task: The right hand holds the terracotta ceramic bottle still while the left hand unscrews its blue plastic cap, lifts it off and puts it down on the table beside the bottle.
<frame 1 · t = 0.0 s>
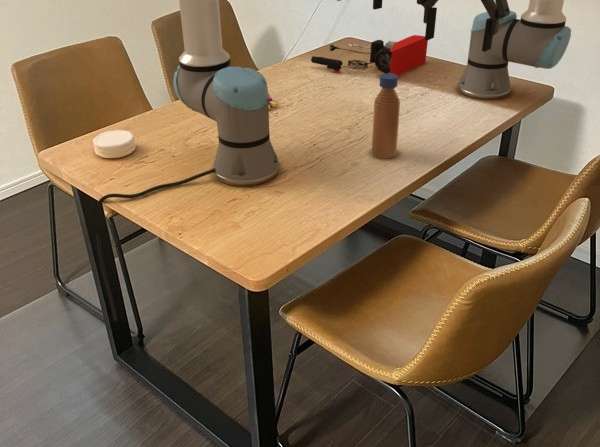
left hand: (358, 4, 166), 28 cm above the table, tool pointing down, fingers open, 13 cm apart
right hand: (457, 44, 134), 28 cm above the table, tool pointing down, fingers open, 13 cm apart
cap: (388, 77, 143), point 19 cm above the table, screwed on, not yet turned
coaster: (115, 151, 156), on the table
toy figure: (258, 103, 182), on the table
bottle: (383, 153, 153), on the table
electric hoist: (368, 65, 210), on the table
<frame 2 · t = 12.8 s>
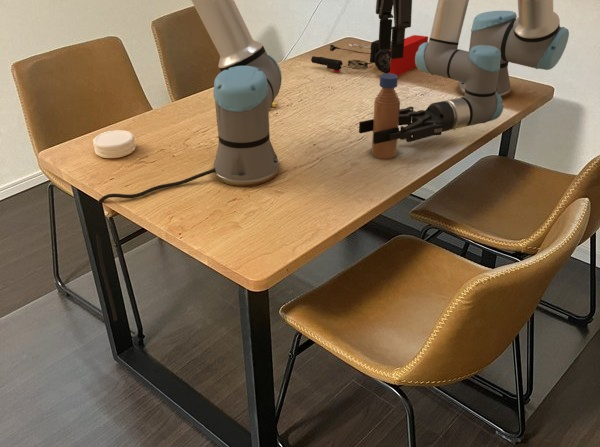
left hand: (390, 53, 140), 25 cm above the table, tool pointing down, fingers open, 6 cm apart
right hand: (367, 132, 148), 7 cm above the table, tool horizontal, fingers closed on bottle, 6 cm apart
bottle: (383, 153, 153), on the table, touching right hand
everything else where it was.
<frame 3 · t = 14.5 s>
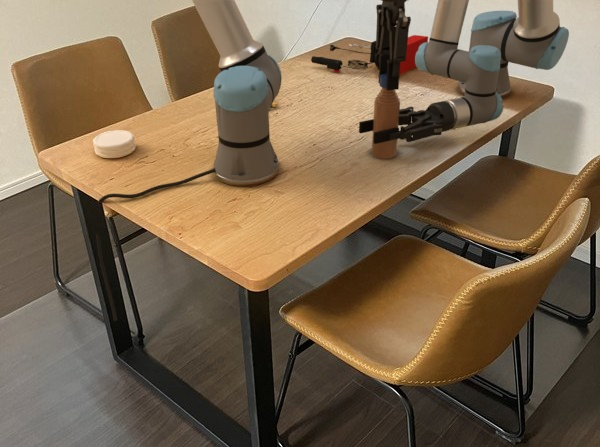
left hand: (388, 85, 144), 17 cm above the table, tool pointing down, fingers closed on cap, 4 cm apart
right hand: (367, 132, 148), 7 cm above the table, tool horizontal, fingers closed on bottle, 6 cm apart
cap: (388, 77, 143), point 19 cm above the table, screwed on, not yet turned, touching left hand
bottle: (383, 153, 153), on the table, touching right hand
everything else where it was.
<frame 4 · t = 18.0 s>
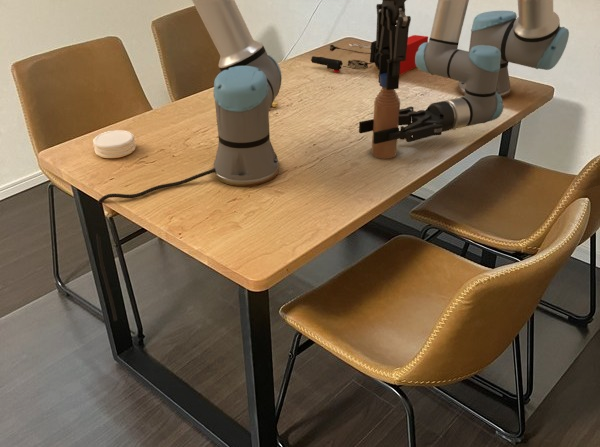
left hand: (388, 85, 144), 17 cm above the table, tool pointing down, fingers closed on cap, 4 cm apart
right hand: (367, 132, 148), 7 cm above the table, tool horizontal, fingers closed on bottle, 6 cm apart
cap: (388, 76, 143), point 19 cm above the table, turned 114° so far, risen 0.1 cm, still on its thread, touching left hand
bottle: (383, 153, 153), on the table, touching right hand
everything else where it was.
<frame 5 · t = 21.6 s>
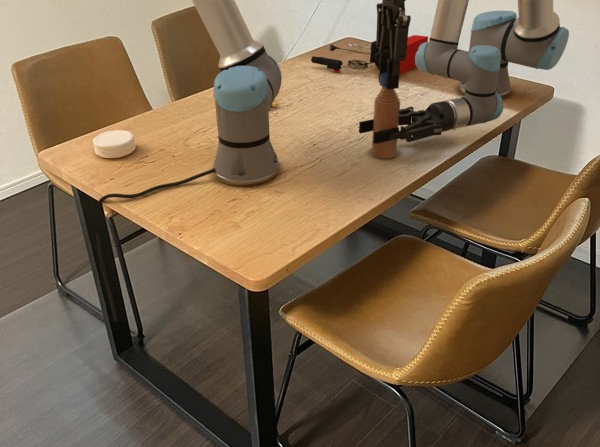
left hand: (388, 84, 144), 18 cm above the table, tool pointing down, fingers closed on cap, 4 cm apart
right hand: (367, 132, 148), 7 cm above the table, tool horizontal, fingers closed on bottle, 6 cm apart
cap: (388, 76, 142), point 20 cm above the table, turned 227° so far, risen 0.2 cm, still on its thread, touching left hand
bottle: (383, 153, 153), on the table, touching right hand
everything else where it was.
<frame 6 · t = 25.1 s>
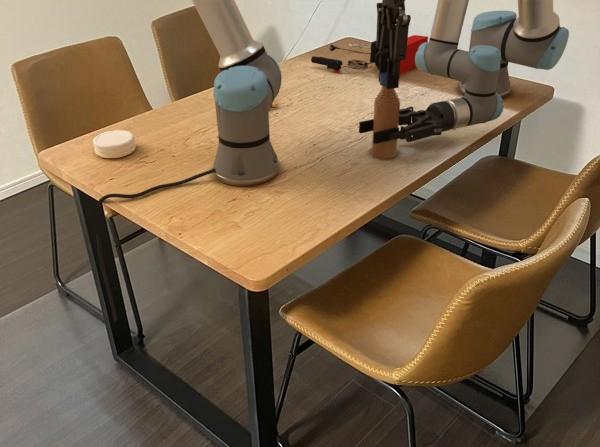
left hand: (388, 84, 143), 18 cm above the table, tool pointing down, fingers closed on cap, 4 cm apart
right hand: (367, 132, 148), 7 cm above the table, tool horizontal, fingers closed on bottle, 6 cm apart
cap: (388, 75, 142), point 20 cm above the table, turned 341° so far, risen 0.4 cm, still on its thread, touching left hand
bottle: (383, 153, 153), on the table, touching right hand
everything else where it was.
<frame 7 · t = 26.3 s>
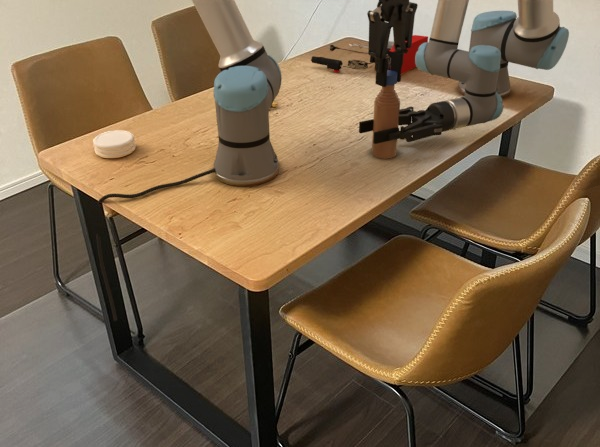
left hand: (387, 82, 143), 18 cm above the table, tool pointing down, fingers closed on cap, 4 cm apart
right hand: (367, 132, 148), 7 cm above the table, tool horizontal, fingers closed on bottle, 6 cm apart
cap: (388, 74, 142), point 20 cm above the table, off its thread, touching left hand
bottle: (383, 153, 153), on the table, touching right hand
everything else where it was.
when the left hand's fingers open (1 cm above the table, at t = 32.9 s): cap drops 1 cm, point 2 cm above the table.
when the right hand's fingers open (7 cm above the table, at t = 34.1 s): bottle stays where it is, on the table.
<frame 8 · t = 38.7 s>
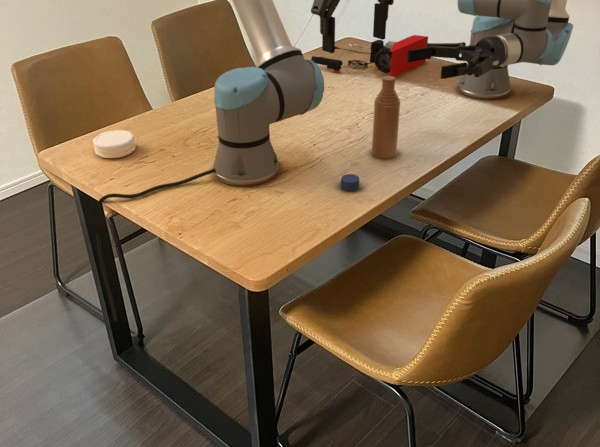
left hand: (354, 44, 122), 32 cm above the table, tool pointing down, fingers open, 13 cm apart
right hand: (424, 64, 145), 21 cm above the table, tool horizontal, fingers open, 13 cm apart
cap: (350, 179, 138), point 2 cm above the table, off its thread
bottle: (384, 153, 153), on the table
everything else where it was.
at the end: cap came off its thread; cap point 1.9 cm above the table; the left hand is holding nothing; the right hand is holding nothing; bottle tilted 0°; bottle moved 0.0 cm from its start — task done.
